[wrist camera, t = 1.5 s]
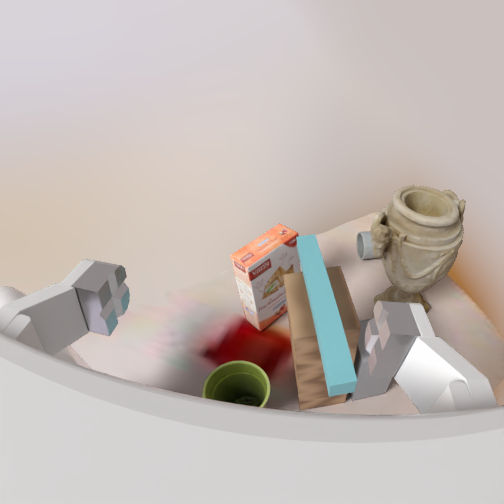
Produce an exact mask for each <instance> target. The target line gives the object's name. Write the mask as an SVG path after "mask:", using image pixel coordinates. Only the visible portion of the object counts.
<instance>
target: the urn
mask: <svg viewBox="0 0 504 504" xmlns="http://www.w3.org/2000/svg"><path fill="white" fill-rule="evenodd" d="M465 202H466V201H464V200H461V201H459V199H458V197H457V195H456V194H455V193H454V192H452V191H451V190H444V191H442V192H441V191H438V190H436V189H433V188H430V187H424V186H407V187H403V188H401V189H399V190H397V191H396V192H395V193H394V194H393V197H392V201H391V202H390V203H389V204H388V205H387V206H386V207H384V208H383V209H382V211H379V212H378V213H377V214H376V215H375V218H374V220H373V223H372V227H371V233H370V234H371V237H372V239H371V242H372V245H373V255H374V257H375V258H382V261H383V264H384V267H385V271H386V274H387V276H388V278H389V279H390V281H391V283H392V284H393V285H394V286H391V287H389V288H388V289H386V291H385V292H384V293H382V294H380V295H378V296H376V297H375V298H374V302H375V304H376V302H377V301H378V300H379V301H390V302H401V303H406V302H408V303H420V304H421V305H423V308H424V310H425V312H426V313H427V312H428V311H429V309H430V306H429V305H428V304H427V303H426V302H425V301H424V300H423V297H422V295H421V294H420V292H423V291H426V290H428V289H429V288H430V287H432V286H433V285H434V284H435V283H436V282H437V281H439V280H440V279H442V278H444V277H445V275H446V274H447V273H448V271H449V270H450V268H451V267H452V265H453V264H454V261H455V259H456V257H457V254H458V249H459V247H460V246H461V244H462V238H463V233H464V232H463V225H462V222H463V213H464V209H465Z"/></svg>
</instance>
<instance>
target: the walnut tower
mask: <svg viewBox="0 0 504 504" xmlns="http://www.w3.org/2000/svg"><path fill="white" fill-rule="evenodd" d="M326 271H327V274H328V277H329V281H330V284H331V287H332V291H333V294H334V297H335V301H336V304H337V307H338V311H339V314H340V318H341V321H342V325H343V329H344V332H345V336H346V339H347V343H348V347H349V350H350V354H351V358H352V362H353V365H354V360H355V355H356V350H357V345H358V340H359V335H360V329H361V326H360V323H359V320H358V317H357V314H356V311H355V308H354V305H353V302H352V299H351V296H350V293H349V290H348V287H347V284H346V281H345V278H344V276H343V273H342V270H341V267H340V266H337V267H331V268H326ZM283 276H284V285H285V293H286V301H287V310H288V319H289V328H290V337H291V346H292V355H293V363H294V371H295V378H296V385H297V392H298V400H299V407H300V410H305V409H311V408H317V407H323V406H329V405H334V404H339V403H345V400H346V396H347V394H342V395H336V396H331V397H329V395H328V389H327V384H326V379H325V374H324V369H323V364H322V359H321V354H320V349H319V344H318V340H317V335H316V330H315V325H314V321H313V316H312V312H311V307H310V303H309V298H308V294H307V289H306V285H305V280H304V276H303V272H298V273H292V274H285V275H283Z"/></svg>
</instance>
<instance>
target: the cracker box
mask: <svg viewBox="0 0 504 504" xmlns="http://www.w3.org/2000/svg"><path fill="white" fill-rule="evenodd" d="M296 237H298V233H297V232H295V231H293V230H291V229H289V228H287V227H285V226H283V225H281V224H278V225H277V226H275V227H273V228H272V229H270V230H269V231H267V232H266V233H264V234H263V235H261V236H259V237H258V238H256V239H255V240H254V241H252V242H250V243H249V244H247V245H246V246H244V247H243V248H241V249H239V250H238V251H236V252H235V253H233V254H232V255H231V261H232V265H233V269H234V273H235V277H236V281H237V285H238V289H239V293H240V297H241V301H242V305H243V309H244V313H245V316H246V319H247V320H248V321H249V322H250V323H251V324H252V325H253V326H255V327H256V328H257V329H258V330H259V331H262V330H263V329H265V328H266V327H267V326H268V325H270V324H271V323H272V322H273V321H275V320H276V319H277V318H278V317H280V316H281V315H282V314H283V313H285V312H286V311H287V301H286V293H285V285H284V276H283V275H285V274H292V273H298V272H300V259H299V255H298V250H297V238H296Z"/></svg>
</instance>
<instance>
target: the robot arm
mask: <svg viewBox="0 0 504 504" xmlns="http://www.w3.org/2000/svg"><path fill="white" fill-rule="evenodd" d="M125 278H126V272H125V268H124V267H123V266H121V265H116V264H110V263H105V262H100V261H95V260H89V259H85V260H82V261H81V262H80V263H79V264H78V265H77V266H76V267H75V268H74V269H73V270H72V272H70V274H69V275H68V276H67V277H66V278H65V279H64V280H63V281H62V282H61V283H60V284H53V285H51V286H48V287H46V288H44V289H41V290H39V291H37V292H34V293H32V294H29V295H25V294H24V293H22V292H20V291H18V290H17V289H15V288H13V287H8V286H3V287H0V504H504V405H502V406H498V405H497V402H496V399H495V397H494V394H493V391H492V389H491V386H490V384H489V381H488V379H487V378H486V377H485V376H484V375H483V374H482V373H481V372H479V371H478V370H477V369H476V368H475V367H474V366H473V365H471V364H470V363H469V362H468V361H467V360H466V359H465V358H463V357H462V356H461V355H460V354H459V353H458V352H456V351H455V350H454V349H453V348H452V347H451V346H449V345H448V344H447V343H446V342H445V341H443V340H442V339H441V338H440V337H436V336H435V334H434V331H433V329H432V326H431V324H430V322H429V319H428V317H427V315H426V312H425V310H424V308H423V305H421V304H420V303H408V302H406V303H401V302H390V301H379V300H378V301H377V302H376V304H375V306H374V309H373V313H374V318H372V319H371V320H370V321H369V322H368V325H367V328H366V332H365V348H366V350H367V351H368V352H369V353H370V355H369V357H368V366H369V372H370V376H381V377H395V378H394V379H395V380H396V381H397V383H398V384H399V385H400V387H401V388H402V389H403V391H404V392H405V393H406V394H407V396H408V397H409V398H410V400H411V401H412V402H413V404H414V405H415V406H416V408H417V409H418V410H419V412H420V413H421V414H410V415H347V414H326V413H311V412H299V411H289V410H279V409H270V408H262V407H255V406H248V405H241V404H235V403H228V402H222V401H217V400H211V399H206V398H201V397H196V396H191V395H186V394H181V393H177V392H172V391H168V390H164V389H160V388H156V387H152V386H148V385H144V384H140V383H136V382H133V381H129V380H125V379H122V378H118V377H115V376H112V375H108V374H105V373H102V372H99V371H96V370H93V369H92V368H91V367H90V366H89V365H88V364H87V363H86V362H85V361H84V360H83V359H82V358H81V357H80V356H79V355H78V354H77V353H76V351H75V350H74V349H73V348H72V347H71V346H70V344H72V343H73V342H75V341H76V340H78V339H79V338H81V337H82V336H84V335H85V334H87V333H88V331H90V332H94V333H98V334H102V335H107V336H110V335H111V333H112V332H113V330H114V329H115V327H116V326H117V324H118V320H117V317H119V316H121V315H123V314H124V313H125V311H126V310H127V308H128V303H129V295H130V294H129V288H128V287H127V286H126V284H125V283H124V280H125Z"/></svg>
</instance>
